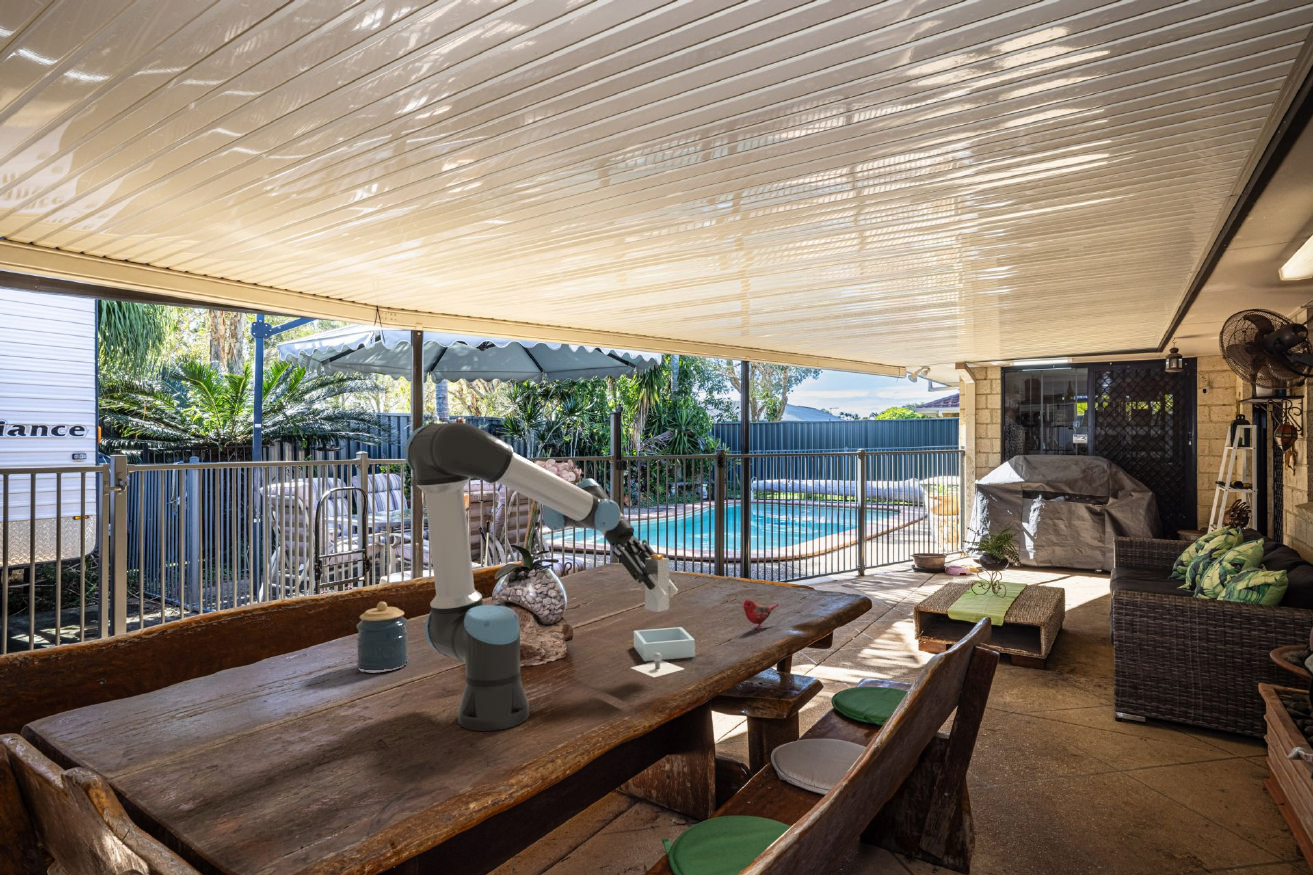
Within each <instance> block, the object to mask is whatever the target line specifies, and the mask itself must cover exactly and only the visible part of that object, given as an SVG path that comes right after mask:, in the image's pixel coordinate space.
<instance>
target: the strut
mask: <svg viewBox="0 0 1313 875" xmlns="http://www.w3.org/2000/svg"><path fill="white" fill-rule="evenodd" d="M644 567H645V569H646V571H647V573H648V576H649V575H650V574H651V575H652V576H653V577H654V579H655V580H656V581H657V582H658V584H659V585H660V586H661V587H662V589H663V590H664V591H665V593H666V594H667V595H666V596H665V597H664V598H663V599H662V600H661V601H658V600H657V599H656V597H655V596H654V595H653V594H652V592H651V591H650V590H649V589H648V587H647V586H646V585H645V584H644V610H645V611H650V612H651V611H652V612H654V613H655V612H656V613H661V612H663V611H669V610H670V596H669V579H670V558H668V557H665V556H664V554H656V553H655V554H654V555H651V558H645V565H644Z"/></svg>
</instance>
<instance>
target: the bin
mask: <svg viewBox="0 0 1313 875" xmlns="http://www.w3.org/2000/svg"><path fill="white" fill-rule="evenodd" d="M633 647H634V649H635V651H636V652H637V653H638V655H639V656H640V657H641V659H642V661H644V662H650V661H652V662H654V661H655V660H654V659H653V655H654V654H655V653H660V654H661V656H662V658H661V660H662V661H665V660H673V659H674V660H675V659H686V658H695V657H696V640H695V638H694V637H693V636H691V635H690V633H689V632H688V631H686V630H685V629H684V628H683V627H682V626H680V627H679V626H677V627H665V628H651V629H639V630H633Z"/></svg>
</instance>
